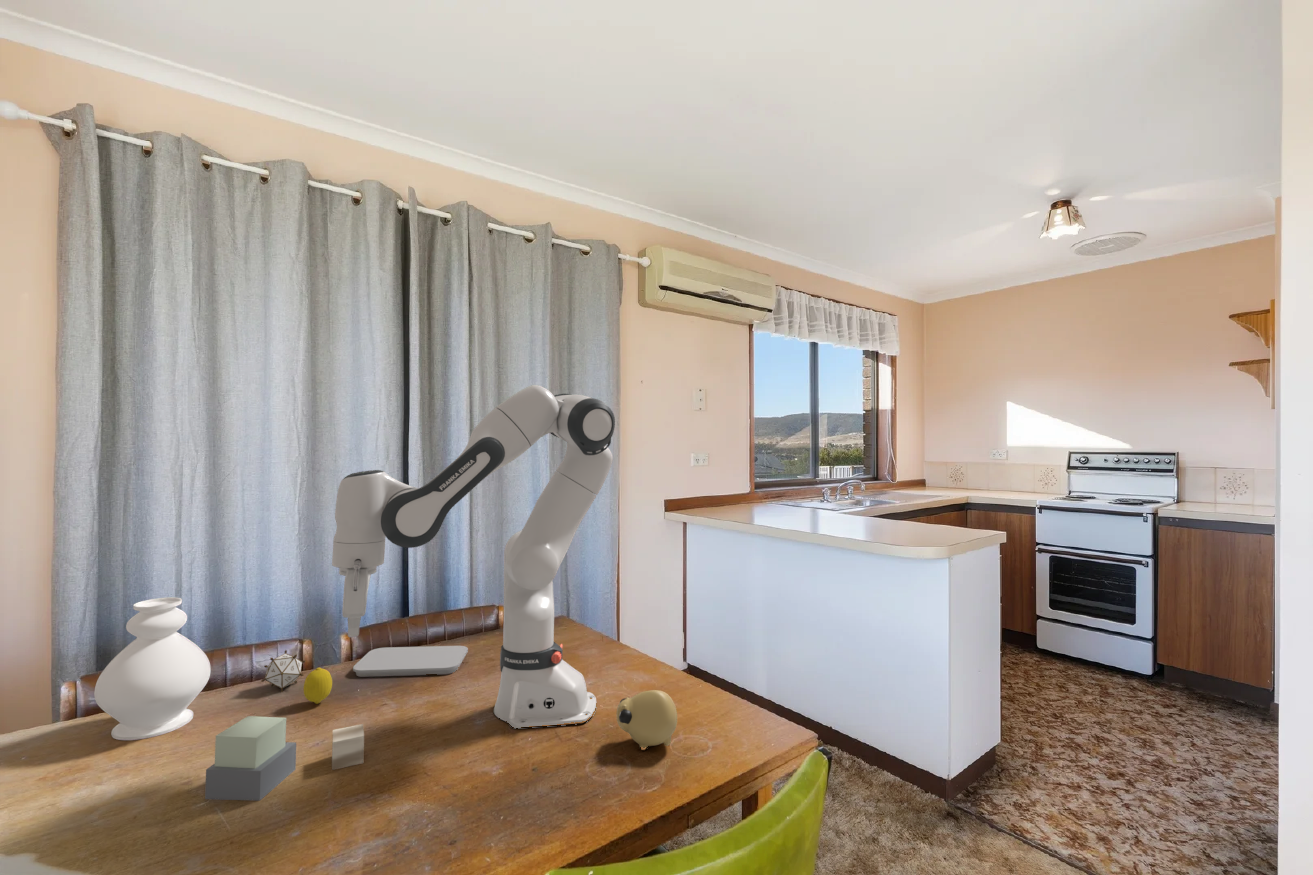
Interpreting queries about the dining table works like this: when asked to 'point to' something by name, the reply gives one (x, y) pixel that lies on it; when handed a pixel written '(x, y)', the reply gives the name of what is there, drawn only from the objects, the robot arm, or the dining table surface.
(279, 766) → the charcoal base block
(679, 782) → the dining table surface
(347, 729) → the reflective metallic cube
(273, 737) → the sage top block
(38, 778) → the dining table surface
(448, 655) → the tablet
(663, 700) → the toy pig
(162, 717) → the decorative vase
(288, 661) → the game die
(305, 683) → the lemon
